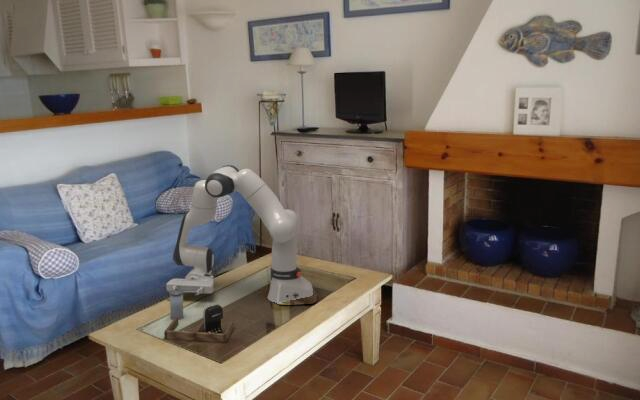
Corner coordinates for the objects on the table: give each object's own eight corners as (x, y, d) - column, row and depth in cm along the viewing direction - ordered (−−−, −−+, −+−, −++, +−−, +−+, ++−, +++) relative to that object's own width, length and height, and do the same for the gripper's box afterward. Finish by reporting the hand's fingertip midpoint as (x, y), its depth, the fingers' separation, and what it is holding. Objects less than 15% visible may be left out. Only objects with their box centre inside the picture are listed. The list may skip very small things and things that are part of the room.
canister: (185, 314, 222) (185, 289, 220) (181, 320, 217) (180, 294, 214) (172, 314, 222) (171, 288, 220) (168, 319, 217) (167, 294, 215)
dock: (233, 327, 212) (233, 319, 211) (225, 342, 199) (225, 334, 199) (175, 323, 213) (175, 315, 213) (164, 339, 201) (164, 330, 200)
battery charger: (208, 339, 202) (208, 310, 200) (203, 335, 205) (202, 307, 202) (224, 333, 207) (224, 305, 204) (218, 330, 209) (218, 302, 207)
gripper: (171, 273, 243) (160, 284, 229) (216, 275, 241) (208, 287, 228) (172, 286, 244) (161, 298, 230) (217, 289, 243) (208, 301, 229)
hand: (185, 292), depth 229 cm, fingers open, 8 cm apart
